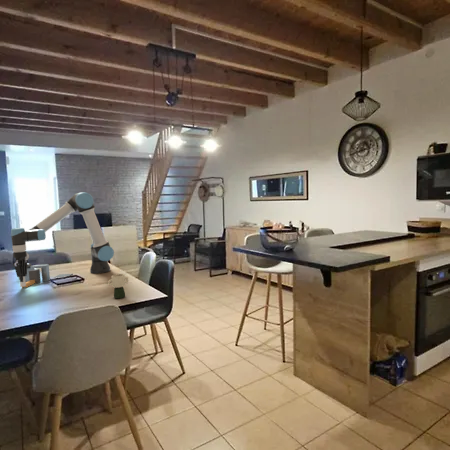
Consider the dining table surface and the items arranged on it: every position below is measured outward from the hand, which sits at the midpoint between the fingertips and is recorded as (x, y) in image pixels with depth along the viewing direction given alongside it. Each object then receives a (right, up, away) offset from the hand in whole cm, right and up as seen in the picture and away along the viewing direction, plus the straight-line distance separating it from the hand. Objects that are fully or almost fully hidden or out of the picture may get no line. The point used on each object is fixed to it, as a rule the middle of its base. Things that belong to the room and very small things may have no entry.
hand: (23, 286), depth 216 cm
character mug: (+75, -1, -33) cm, 82 cm away
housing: (-3, 0, +20) cm, 20 cm away
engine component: (-21, 0, +36) cm, 42 cm away
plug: (0, -1, +9) cm, 9 cm away
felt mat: (+11, +1, +30) cm, 32 cm away
